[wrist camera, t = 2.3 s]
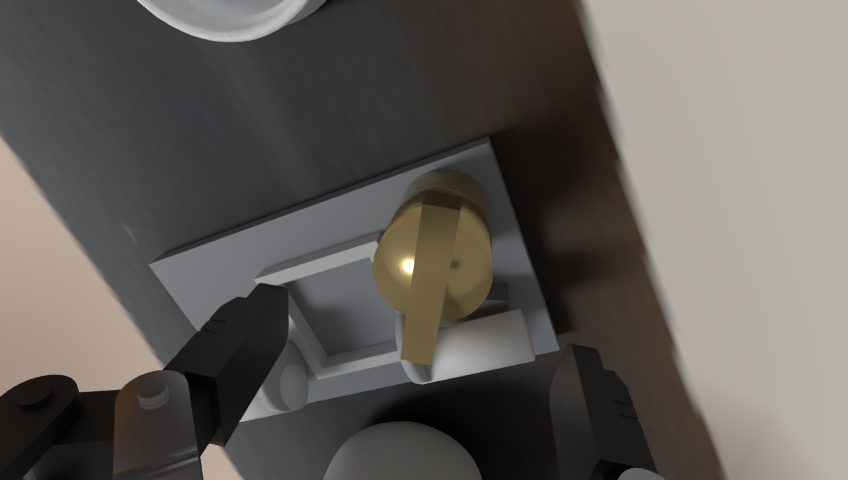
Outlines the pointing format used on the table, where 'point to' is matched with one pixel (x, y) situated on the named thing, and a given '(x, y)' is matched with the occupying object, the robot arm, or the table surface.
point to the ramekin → (231, 16)
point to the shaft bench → (362, 290)
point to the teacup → (402, 455)
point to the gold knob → (435, 257)
